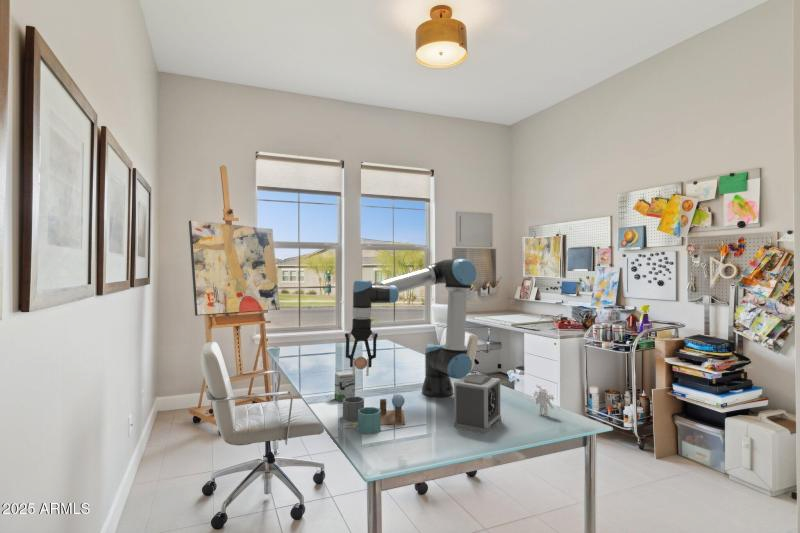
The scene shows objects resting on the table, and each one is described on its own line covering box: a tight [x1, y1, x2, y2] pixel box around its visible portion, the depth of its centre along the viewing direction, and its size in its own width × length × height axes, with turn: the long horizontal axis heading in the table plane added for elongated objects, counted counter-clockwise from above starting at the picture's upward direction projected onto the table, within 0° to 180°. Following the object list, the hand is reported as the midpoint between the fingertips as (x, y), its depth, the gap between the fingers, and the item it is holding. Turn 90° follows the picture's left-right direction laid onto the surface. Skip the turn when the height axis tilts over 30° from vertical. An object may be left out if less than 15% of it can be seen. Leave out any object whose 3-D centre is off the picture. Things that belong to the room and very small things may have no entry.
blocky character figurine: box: [533, 384, 555, 417], centre depth 175 cm, size 9×4×12 cm, turn 37°
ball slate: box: [391, 393, 406, 408], centre depth 167 cm, size 5×5×5 cm
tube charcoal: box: [342, 396, 365, 422], centre depth 173 cm, size 8×8×7 cm
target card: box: [343, 422, 358, 429], centre depth 163 cm, size 7×5×1 cm
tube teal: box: [357, 406, 382, 435], centre depth 159 cm, size 8×8×7 cm
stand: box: [379, 398, 406, 426], centre depth 172 cm, size 11×16×6 cm
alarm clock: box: [452, 373, 502, 434], centre depth 166 cm, size 18×13×18 cm
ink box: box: [334, 371, 356, 402], centre depth 198 cm, size 9×5×12 cm, turn 117°
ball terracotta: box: [355, 356, 367, 370], centre depth 174 cm, size 5×5×5 cm
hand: (360, 375), depth 173 cm, fingers closed on ball terracotta, 5 cm apart
